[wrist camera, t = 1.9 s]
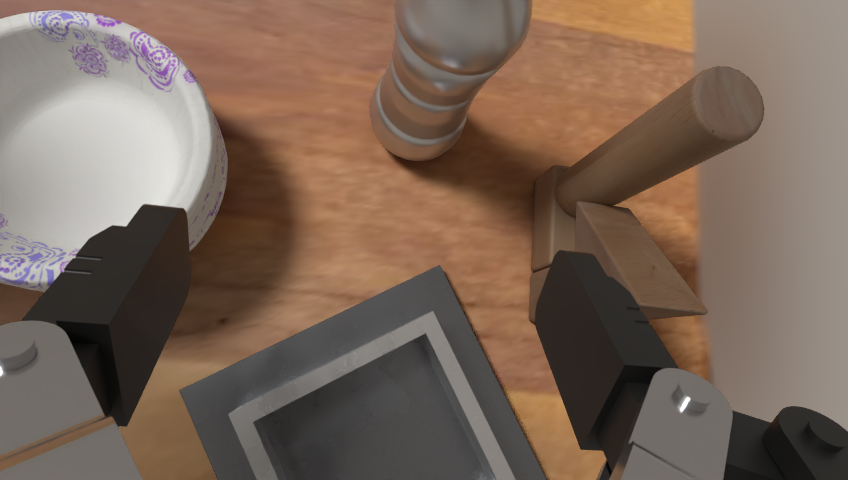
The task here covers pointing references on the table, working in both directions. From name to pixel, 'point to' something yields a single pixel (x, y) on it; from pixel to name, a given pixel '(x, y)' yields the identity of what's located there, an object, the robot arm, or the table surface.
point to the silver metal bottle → (441, 69)
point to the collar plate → (366, 399)
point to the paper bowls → (95, 138)
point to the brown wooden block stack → (640, 188)
